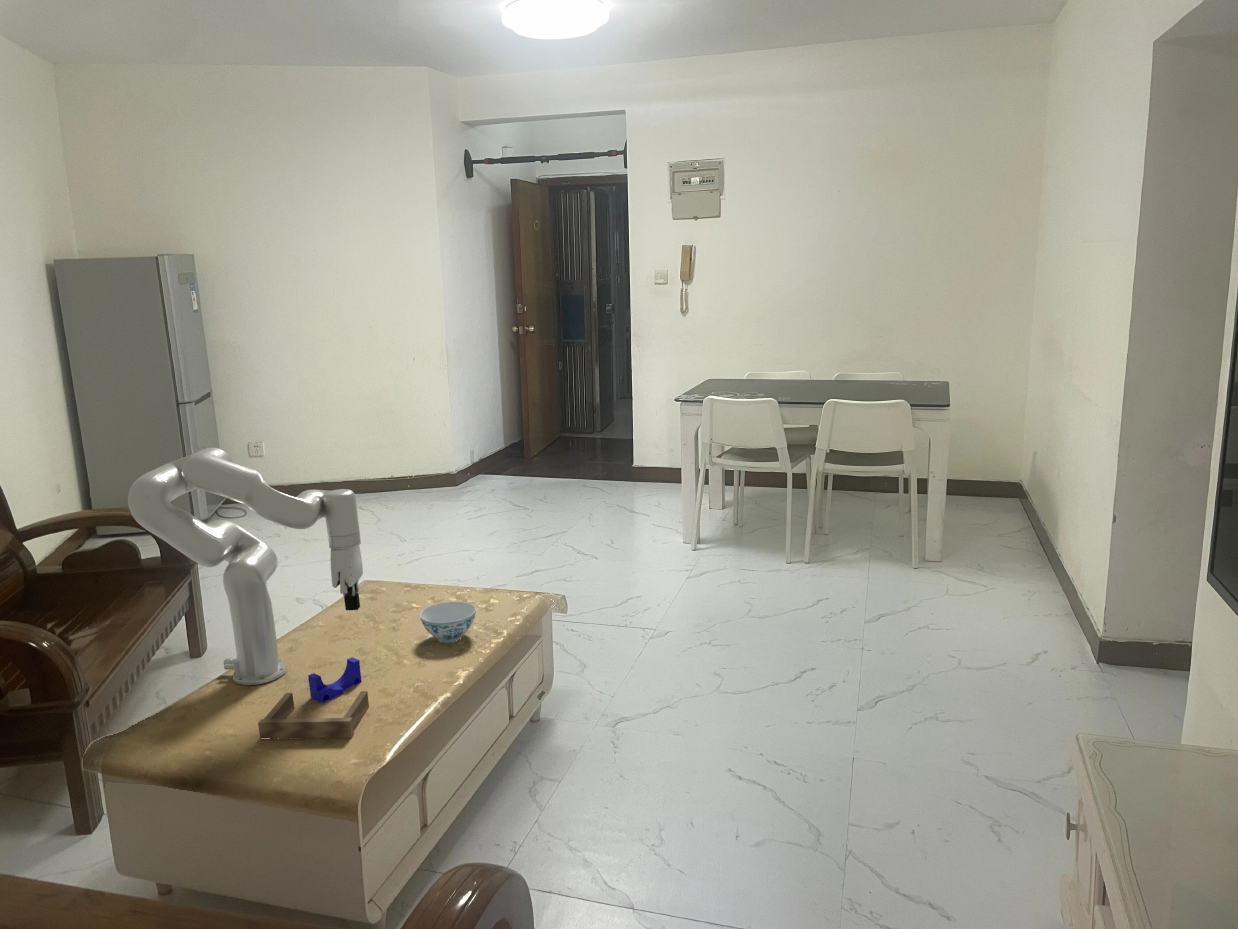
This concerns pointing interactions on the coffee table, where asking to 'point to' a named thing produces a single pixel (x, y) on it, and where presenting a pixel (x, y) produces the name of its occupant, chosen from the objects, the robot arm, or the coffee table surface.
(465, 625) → the chinaware
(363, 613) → the coffee table surface
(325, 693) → the cable clip
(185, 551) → the robot arm
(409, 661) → the coffee table surface
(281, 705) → the dock bay
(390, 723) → the coffee table surface
